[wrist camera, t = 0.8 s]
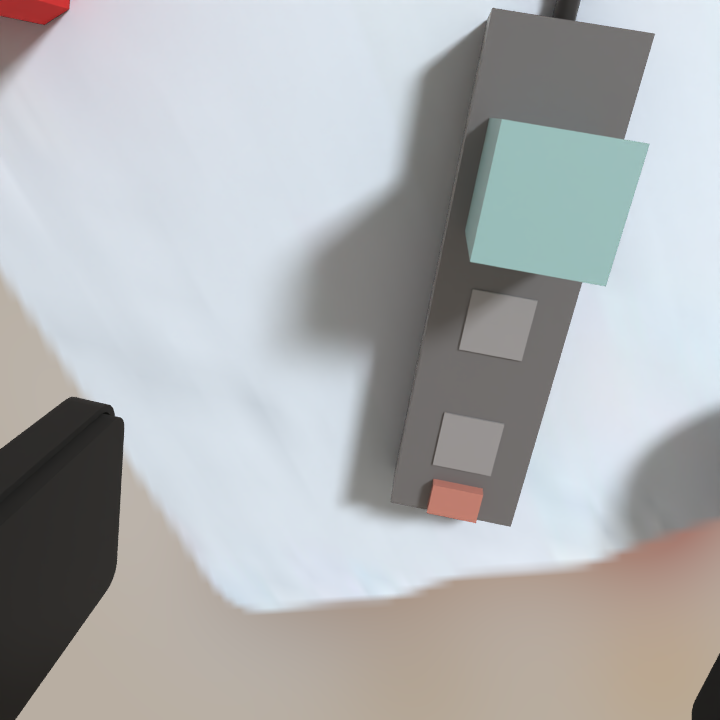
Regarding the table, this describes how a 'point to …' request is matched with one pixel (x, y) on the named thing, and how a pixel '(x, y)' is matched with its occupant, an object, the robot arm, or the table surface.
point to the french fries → (33, 9)
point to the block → (551, 200)
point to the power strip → (505, 273)
